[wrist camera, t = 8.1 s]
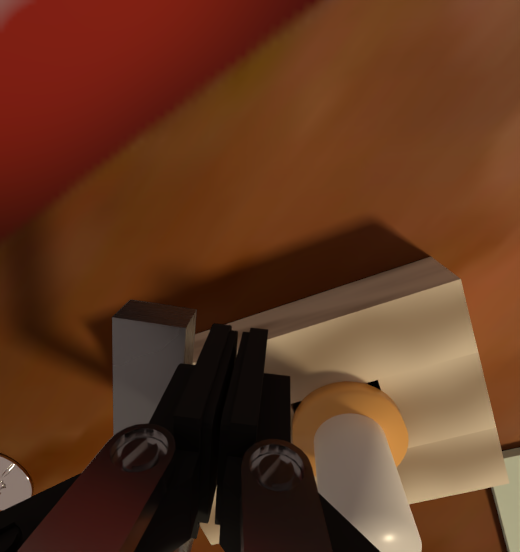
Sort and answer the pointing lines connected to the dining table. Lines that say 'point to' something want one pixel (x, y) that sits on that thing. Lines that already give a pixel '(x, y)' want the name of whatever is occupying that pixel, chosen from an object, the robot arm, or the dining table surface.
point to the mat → (510, 500)
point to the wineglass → (13, 483)
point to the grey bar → (148, 360)
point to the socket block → (394, 370)
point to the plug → (359, 460)
